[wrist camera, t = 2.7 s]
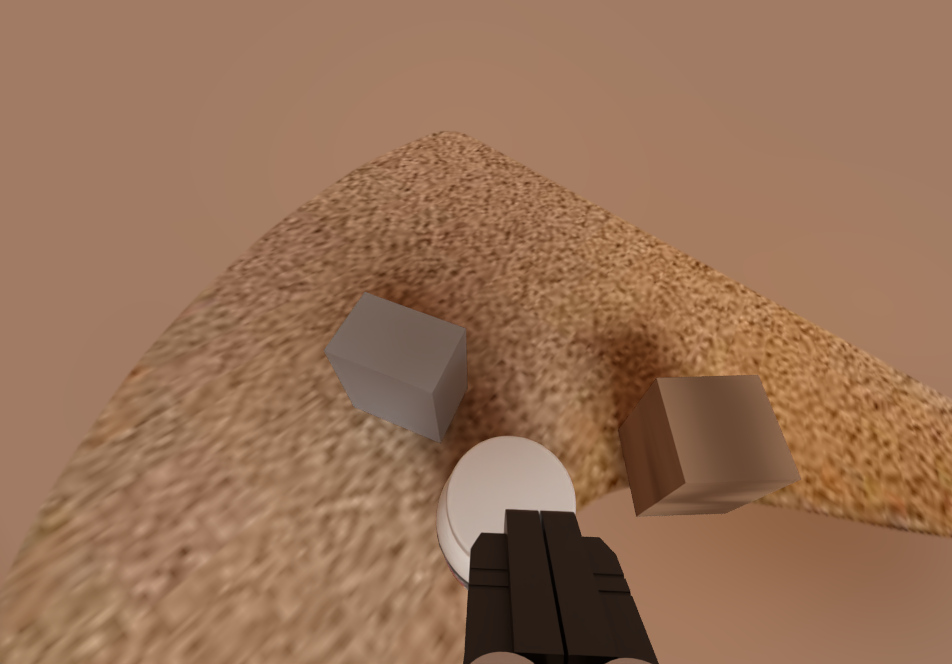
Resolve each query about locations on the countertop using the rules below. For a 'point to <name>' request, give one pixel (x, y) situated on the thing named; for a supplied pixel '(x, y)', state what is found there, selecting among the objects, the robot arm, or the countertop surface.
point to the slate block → (401, 365)
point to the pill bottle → (497, 494)
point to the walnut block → (704, 446)
